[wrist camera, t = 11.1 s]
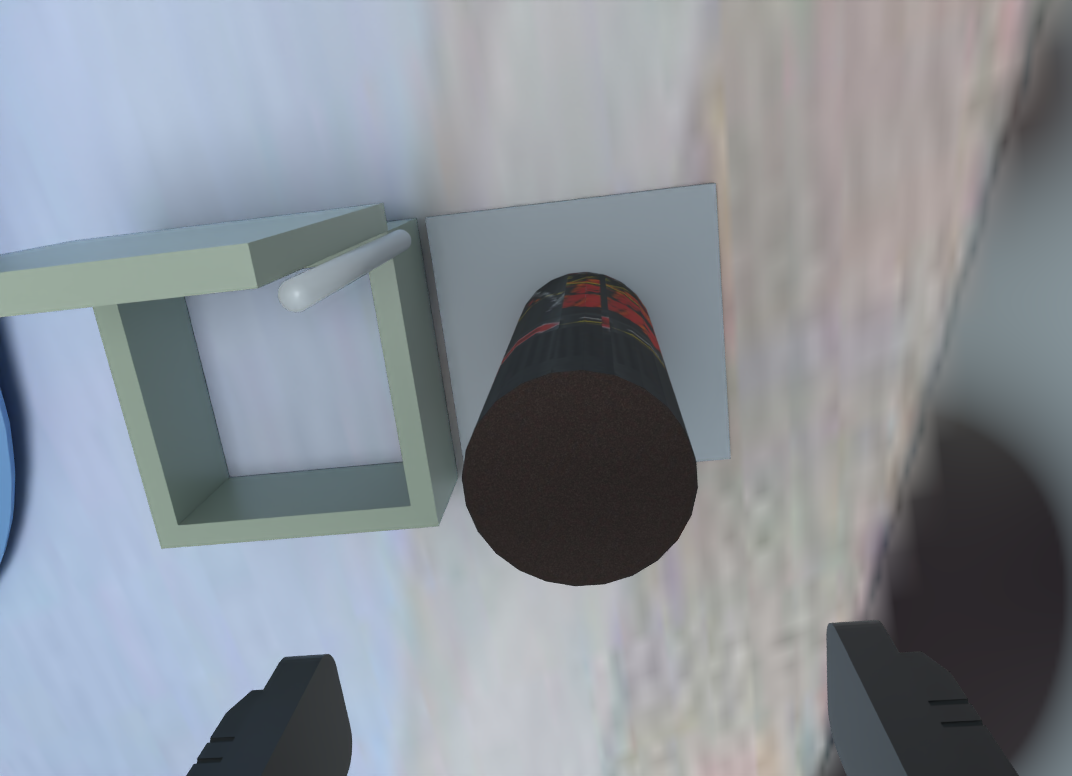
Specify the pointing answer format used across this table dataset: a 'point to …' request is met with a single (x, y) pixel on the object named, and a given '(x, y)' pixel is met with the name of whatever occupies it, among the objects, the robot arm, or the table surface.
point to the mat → (599, 247)
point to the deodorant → (581, 440)
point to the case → (179, 385)
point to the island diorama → (6, 477)
